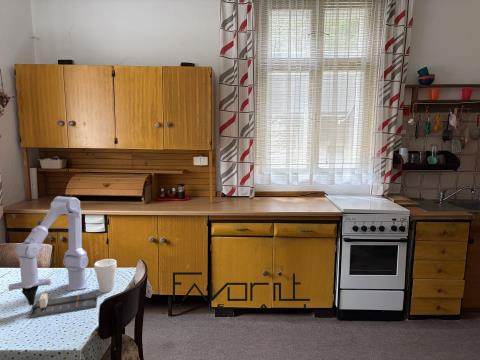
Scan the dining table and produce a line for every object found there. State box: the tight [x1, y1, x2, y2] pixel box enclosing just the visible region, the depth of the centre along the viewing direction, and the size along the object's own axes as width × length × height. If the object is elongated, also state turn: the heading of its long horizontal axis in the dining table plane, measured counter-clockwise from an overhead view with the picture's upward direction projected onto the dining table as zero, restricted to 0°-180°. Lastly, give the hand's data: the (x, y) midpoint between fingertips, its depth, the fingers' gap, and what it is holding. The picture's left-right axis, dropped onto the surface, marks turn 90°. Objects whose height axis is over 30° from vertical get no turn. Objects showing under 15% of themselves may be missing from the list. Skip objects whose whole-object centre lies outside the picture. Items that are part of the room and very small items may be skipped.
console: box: [29, 291, 98, 319], centre depth 142 cm, size 12×24×2 cm, turn 111°
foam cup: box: [94, 258, 118, 293], centre depth 156 cm, size 10×9×13 cm
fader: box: [39, 292, 49, 308], centre depth 139 cm, size 5×2×4 cm, turn 21°
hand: (31, 304), depth 137 cm, fingers closed
